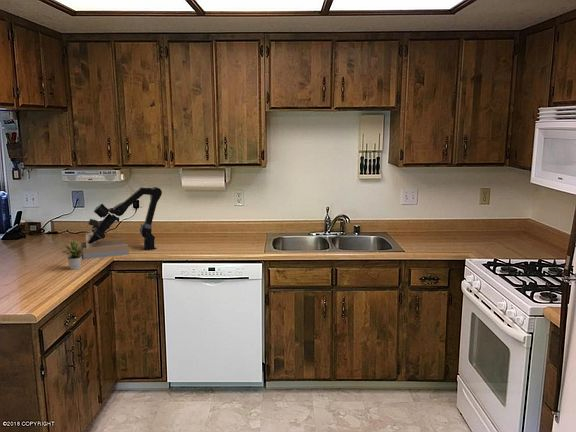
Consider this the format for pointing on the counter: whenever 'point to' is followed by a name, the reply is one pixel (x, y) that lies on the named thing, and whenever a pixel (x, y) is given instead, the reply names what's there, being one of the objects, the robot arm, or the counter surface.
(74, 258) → the house plant
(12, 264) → the counter surface
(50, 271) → the counter surface
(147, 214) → the robot arm
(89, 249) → the channel
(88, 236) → the block
